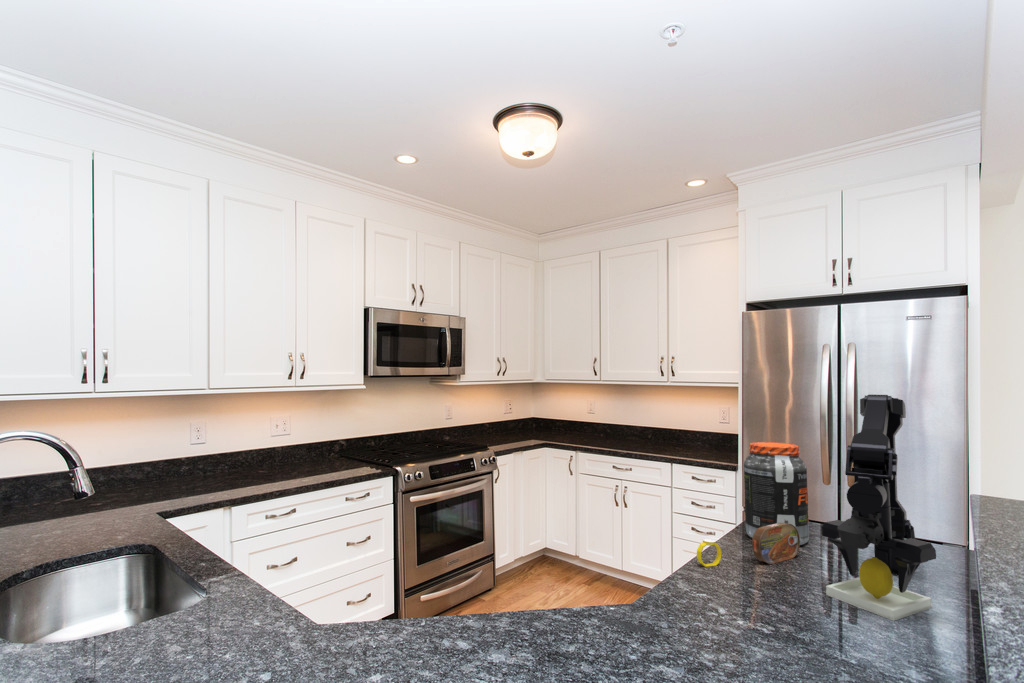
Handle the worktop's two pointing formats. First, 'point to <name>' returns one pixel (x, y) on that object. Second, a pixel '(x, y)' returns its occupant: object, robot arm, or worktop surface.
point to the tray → (885, 606)
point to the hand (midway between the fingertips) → (876, 583)
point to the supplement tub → (775, 488)
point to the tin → (776, 543)
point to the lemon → (876, 577)
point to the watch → (700, 548)
